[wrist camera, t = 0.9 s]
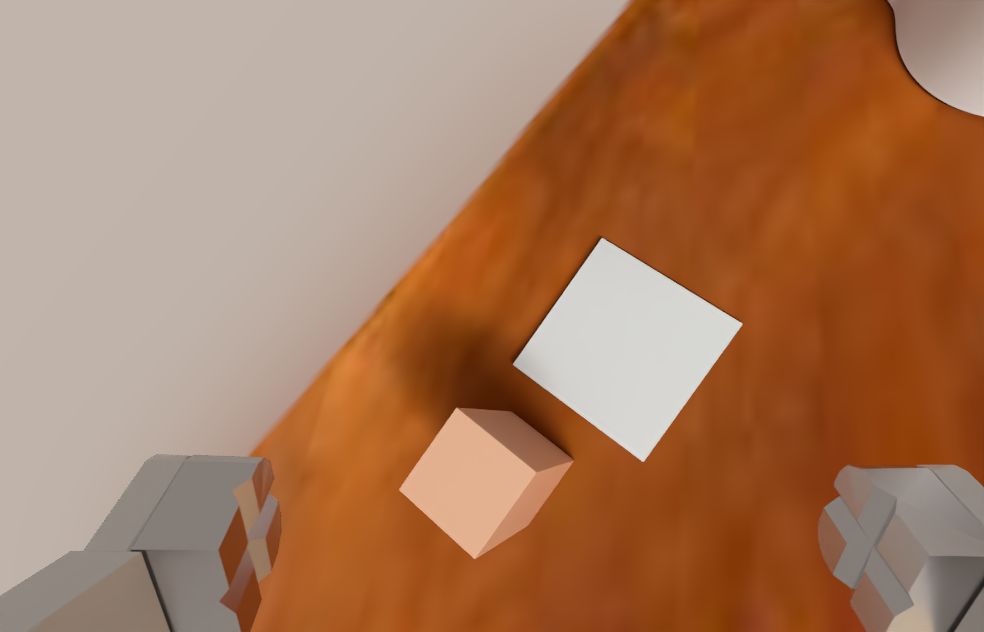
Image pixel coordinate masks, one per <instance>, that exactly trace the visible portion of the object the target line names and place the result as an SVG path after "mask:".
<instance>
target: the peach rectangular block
mask: <svg viewBox="0 0 984 632" xmlns="http://www.w3.org/2000/svg"><path fill="white" fill-rule="evenodd" d="M573 462H574V460H573V459H572V458H571V457H569V456H568V455H567V454H566V453H564V452H563V451H562V450H561V449H559V448H558V447H557V446H555V445H554V444H553V443H552V442H550V441H549V440H548V439H546V438H545V437H544V436H543V435H541V434H540V433H539V432H537V431H536V430H535V429H534V428H532V427H531V426H530V425H528V424H527V423H526V422H525V421H523V420H522V419H521V418H519V417H518V416H517V415H516V414H514V413H513V412H511V411H498V410H484V409H470V408H456V409H455V410H454V412H453V413H452V415H451V416H450V418H449V419H448V420H447V422H446V423H445V425H444V426H443V428H442V429H441V430H440V432H439V433H438V435H437V436H436V438H435V439H434V440H433V442H432V443H431V445H430V446H429V448H428V449H427V450H426V452H425V453H424V455H423V456H422V457H421V459H420V460H419V462H418V463H417V465H416V466H415V467H414V469H413V470H412V472H411V473H410V475H409V476H408V477H407V479H406V480H405V482H404V483H403V485H402V486H401V487H400V489H399V490H400V491H401V492H402V493H403V494H404V495H405V496H406V497H407V498H408V499H410V500H411V501H412V502H413V503H414V504H415V505H416V506H417V507H418V508H419V509H421V510H422V511H423V512H424V513H425V514H426V515H427V516H428V517H429V518H430V519H431V520H433V521H434V522H435V523H436V524H437V525H438V526H439V527H440V528H441V529H442V530H443V531H445V532H446V533H447V534H448V535H449V536H450V537H451V538H452V539H453V540H454V541H456V542H457V543H458V544H459V545H460V546H461V547H462V548H463V549H464V550H465V551H466V552H468V553H469V554H470V555H471V556H472V557H473V558H474V559H476V558H478V557H479V556H481V555H482V554H484V553H485V552H487V551H489V550H490V549H492V548H493V547H495V546H496V545H498V544H500V543H501V542H503V541H504V540H506V539H507V538H509V537H511V536H512V535H514V534H515V533H517V532H518V531H520V530H522V529H523V528H525V527H526V526H528V525H529V523H530V522H531V520H532V519H533V518H534V516H535V515H536V513H537V512H538V511H539V509H540V508H541V506H542V505H543V504H544V502H545V501H546V499H547V498H548V497H549V495H550V494H551V492H552V491H553V490H554V488H555V487H556V485H557V484H558V483H559V481H560V480H561V478H562V477H563V476H564V474H565V473H566V471H567V470H568V469H569V467H570V466H571V464H572V463H573Z"/></svg>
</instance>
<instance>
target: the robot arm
mask: <svg viewBox="0 0 984 632" xmlns="http://www.w3.org/2000/svg"><path fill="white" fill-rule="evenodd" d="M887 1H888V2H889V4H890V5H891V6H892V8H893V10H894V14H895V23H896V38H897V44H898V49H899V52H900V55H901V57H902V59H903V62H904V64H905V65H906V67H907V69H908V70H909V72H910V73H911V75H912V76H913V77H914V78H915V80H916V81H917V82H918V83H919V84H920V85H921V86H922V87H923V88H924V89H926V90H927V91H928V92H929V93H931V94H932V95H933V96H935V97H936V98H938V99H939V100H941V101H943V102H945V103H947V104H948V105H951V106H953V107H955V108H957V109H960V110H963V111H965V112H969V113H972V114H976V115H980V116H984V0H887ZM273 480H274V475H273V471H272V467H271V462H270V460H268V459H266V458H262V457H235V456H208V455H206V456H205V455H193V456H183V455H159V454H156V455H155V456H153V457H151V458H150V459H148V460H147V461H146V462H145V463H144V464H143V466H142V467H141V468H140V470H139V472H138V473H137V474H136V476H135V477H134V479H133V480H132V481H131V483H130V484H129V486H128V487H127V489H126V490H125V492H124V493H123V495H122V496H121V497H120V499H119V500H118V502H117V503H116V504H115V506H114V507H113V509H112V510H111V512H110V514H109V515H108V516H107V517H106V519H105V520H104V522H103V523H102V525H101V526H100V528H99V529H98V530H97V532H96V533H95V535H94V536H93V538H92V539H91V540H90V542H89V543H88V545H87V546H86V548H85V549H84V551H70V552H69V553H67V554H66V555H64V556H63V557H61V558H59V559H58V560H56V561H55V562H53V563H52V564H50V565H48V566H47V567H45V568H44V569H42V570H40V571H39V572H37V573H36V574H34V575H32V576H31V577H29V578H28V579H26V580H25V581H23V582H21V583H20V584H18V585H17V586H15V587H13V588H12V589H10V590H9V591H7V592H6V593H4V594H2V595H1V596H0V632H250V631H251V628H252V625H253V622H254V619H255V617H256V614H257V611H258V608H259V605H260V603H261V600H262V599H261V595H260V590H259V586H258V582H259V581H260V580H261V579H262V578H264V577H265V576H266V575H267V574H268V573H269V572H270V571H272V568H273V565H274V562H275V559H276V556H277V553H278V548H279V542H280V535H281V512H280V506H279V502H278V501H277V500H276V499H275V498H274V497H273V496H272V495H271V494H269V491H270V488H271V486H272V483H273ZM834 487H835V489H836V491H837V493H838V495H839V497H838V498H836V499H835V500H834V501H832V502H831V503H830V504H828V505H827V506H826V507H824V509H823V512H822V515H821V517H820V520H819V523H818V537H819V546H820V549H821V552H822V555H823V558H824V560H825V562H826V563H827V565H828V567H829V569H830V570H831V572H832V574H833V575H834V576H836V577H837V578H838V579H840V580H841V581H842V582H844V583H845V584H846V585H848V586H849V587H850V588H852V591H851V597H850V605H851V606H852V608H853V610H854V611H855V613H856V615H857V616H858V618H859V620H860V621H861V623H862V625H863V626H864V628H865V630H866V631H867V632H984V487H983V486H982V485H981V484H980V483H979V482H978V481H977V480H976V479H975V478H974V477H973V476H972V475H971V474H970V473H969V472H967V471H966V470H964V469H962V468H960V467H958V466H956V465H917V466H913V465H847V466H846V467H845V468H844V469H842V470H841V471H840V472H839V474H838V476H837V478H836V481H835V483H834Z"/></svg>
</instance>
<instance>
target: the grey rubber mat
mask: <svg viewBox="0 0 984 632" xmlns="http://www.w3.org/2000/svg"><path fill="white" fill-rule="evenodd" d="M741 326H742V323H741V322H739V321H737V320H736V319H734V318H732V317H731V316H729V315H727V314H726V313H724V312H723V311H721V310H719V309H718V308H716V307H714V306H713V305H711V304H710V303H708V302H706V301H705V300H703V299H701V298H700V297H698V296H696V295H695V294H693V293H692V292H690V291H688V290H687V289H685V288H683V287H682V286H680V285H678V284H677V283H675V282H674V281H672V280H670V279H669V278H667V277H665V276H664V275H662V274H661V273H659V272H657V271H656V270H654V269H652V268H651V267H649V266H647V265H646V264H644V263H643V262H641V261H639V260H638V259H636V258H634V257H633V256H631V255H629V254H628V253H626V252H625V251H623V250H621V249H620V248H618V247H616V246H615V245H613V244H612V243H610V242H608V241H607V240H605V239H603V238H601V240H600V241H599V243H598V244H597V246H596V247H595V248H594V250H593V251H592V253H591V254H590V256H589V257H588V258H587V260H586V261H585V263H584V264H583V265H582V267H581V268H580V270H579V271H578V273H577V274H576V275H575V277H574V278H573V280H572V281H571V283H570V284H569V285H568V287H567V288H566V290H565V291H564V292H563V294H562V295H561V297H560V298H559V300H558V301H557V302H556V304H555V305H554V307H553V308H552V310H551V311H550V312H549V314H548V315H547V317H546V318H545V319H544V321H543V322H542V324H541V325H540V327H539V328H538V329H537V331H536V332H535V334H534V335H533V336H532V338H531V339H530V341H529V342H528V344H527V345H526V346H525V348H524V349H523V351H522V352H521V354H520V355H519V356H518V358H517V359H516V361H515V362H514V363H513V365H514V366H515V367H517V368H518V369H519V370H521V371H522V372H523V373H525V374H526V375H527V376H529V377H530V378H531V379H533V380H534V381H535V382H537V383H538V384H539V385H541V386H542V387H543V388H545V389H546V390H547V391H549V392H550V393H551V394H553V395H554V396H555V397H557V398H558V399H559V400H561V401H562V402H564V403H565V404H566V405H568V406H569V407H570V408H572V409H573V410H574V411H576V412H577V413H578V414H580V415H581V416H582V417H584V418H585V419H586V420H588V421H589V422H590V423H592V424H593V425H594V426H596V427H597V428H598V429H600V430H601V431H602V432H604V433H605V434H606V435H608V436H609V437H610V438H612V439H613V440H614V441H616V442H617V443H618V444H620V445H621V446H623V447H624V448H625V449H627V450H628V451H629V452H631V453H632V454H633V455H635V456H636V457H637V458H639V459H640V460H641V461H643V462H644V461H645V459H646V458H647V456H648V455H649V454H650V452H651V451H652V449H653V448H654V447H655V445H656V444H657V442H658V441H659V440H660V438H661V437H662V436H663V434H664V433H665V431H666V430H667V429H668V427H669V426H670V424H671V423H672V422H673V420H674V419H675V417H676V416H677V415H678V413H679V412H680V411H681V409H682V408H683V406H684V405H685V404H686V402H687V401H688V399H689V398H690V397H691V395H692V394H693V392H694V391H695V390H696V388H697V387H698V386H699V384H700V383H701V381H702V380H703V379H704V377H705V376H706V374H707V373H708V372H709V370H710V369H711V367H712V366H713V365H714V363H715V362H716V361H717V359H718V358H719V356H720V355H721V354H722V352H723V351H724V349H725V348H726V347H727V345H728V344H729V342H730V341H731V340H732V338H733V337H734V335H735V334H736V333H737V331H738V330H739V329H740V327H741Z"/></svg>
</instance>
